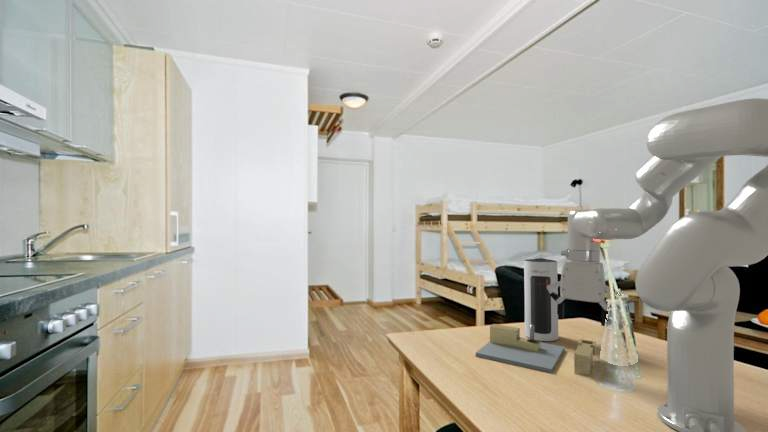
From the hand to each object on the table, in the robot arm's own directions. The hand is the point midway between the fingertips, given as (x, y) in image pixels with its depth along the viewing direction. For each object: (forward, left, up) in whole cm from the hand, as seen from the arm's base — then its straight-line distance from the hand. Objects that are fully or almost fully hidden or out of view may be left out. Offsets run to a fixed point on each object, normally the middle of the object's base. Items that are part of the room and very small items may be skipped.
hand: (581, 321), depth 95 cm
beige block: (+2, -1, -12) cm, 13 cm away
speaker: (+22, +14, -13) cm, 29 cm away
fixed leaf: (+5, +18, -11) cm, 22 cm away
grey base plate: (+2, +16, -12) cm, 20 cm away
